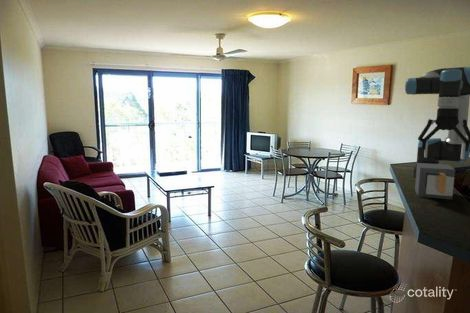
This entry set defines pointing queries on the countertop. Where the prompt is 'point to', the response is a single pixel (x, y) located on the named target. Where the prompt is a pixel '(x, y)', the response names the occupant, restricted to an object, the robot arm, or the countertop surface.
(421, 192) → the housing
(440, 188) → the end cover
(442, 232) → the countertop surface
